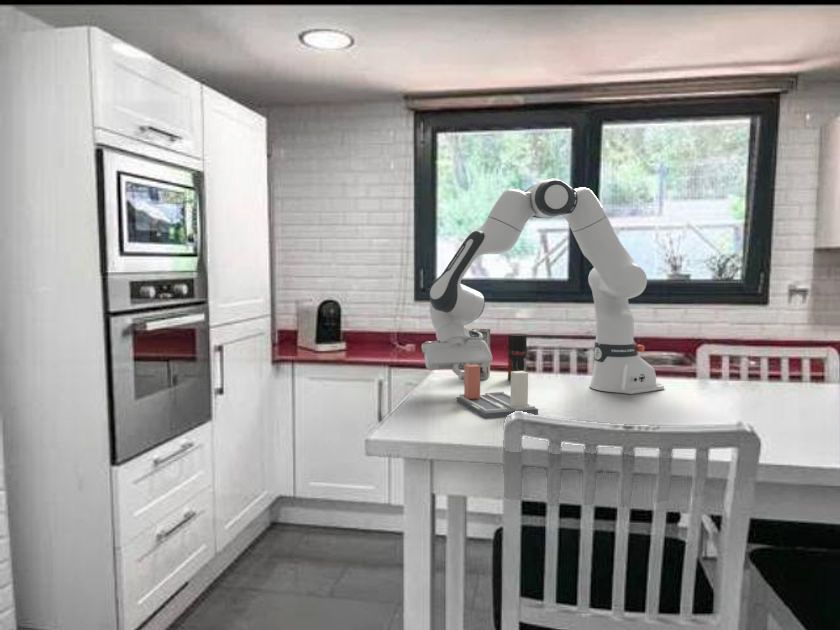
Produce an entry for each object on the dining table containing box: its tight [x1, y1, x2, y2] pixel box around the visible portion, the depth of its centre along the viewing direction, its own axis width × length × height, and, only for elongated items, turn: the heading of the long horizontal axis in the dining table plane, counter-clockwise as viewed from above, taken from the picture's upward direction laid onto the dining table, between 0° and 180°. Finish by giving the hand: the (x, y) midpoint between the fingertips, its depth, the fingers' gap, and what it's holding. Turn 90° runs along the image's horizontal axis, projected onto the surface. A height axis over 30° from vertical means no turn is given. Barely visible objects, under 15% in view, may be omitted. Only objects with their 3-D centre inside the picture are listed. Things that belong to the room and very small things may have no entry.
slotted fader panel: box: [456, 391, 539, 419], centre depth 174 cm, size 15×20×2 cm
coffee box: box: [471, 328, 491, 381], centre depth 216 cm, size 9×6×16 cm
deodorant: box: [507, 333, 528, 381], centre depth 212 cm, size 6×6×15 cm
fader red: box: [463, 364, 481, 399], centre depth 179 cm, size 4×3×9 cm
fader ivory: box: [510, 371, 529, 407], centre depth 169 cm, size 4×3×9 cm
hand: (464, 378), depth 184 cm, fingers closed
